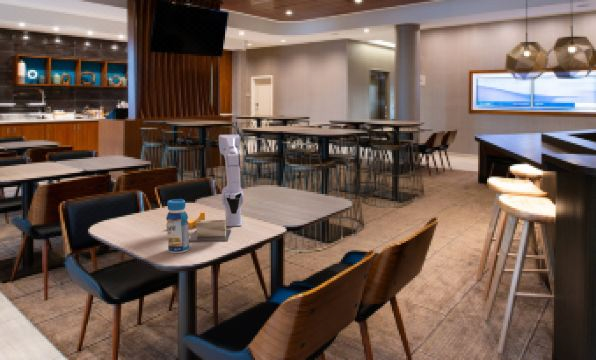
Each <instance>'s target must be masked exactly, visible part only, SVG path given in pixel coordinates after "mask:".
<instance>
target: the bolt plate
mask: <svg viewBox="0 0 596 360" xmlns="http://www.w3.org/2000/svg"><path fill="white" fill-rule="evenodd" d="M231 233H232V229H226V235H225V236H199V237H197V229H195V230H194V232H193V233H192V235H191V236H190V237H189V243H193V242H194V243H195V242H196V243H197V242H198V243H201V242H202V243H205V242H228V241H229V239H230V235H231Z"/></svg>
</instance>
